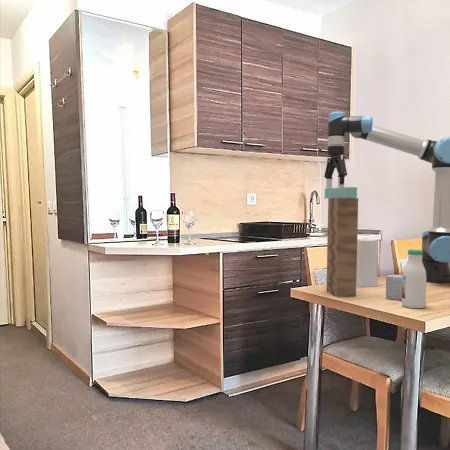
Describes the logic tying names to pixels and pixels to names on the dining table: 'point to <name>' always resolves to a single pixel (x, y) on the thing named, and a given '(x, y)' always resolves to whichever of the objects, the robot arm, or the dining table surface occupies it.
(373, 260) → the grey block
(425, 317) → the dining table surface
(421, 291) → the milk bottle
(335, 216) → the walnut stand
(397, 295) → the medicine box
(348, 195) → the teal bar
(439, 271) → the robot arm
